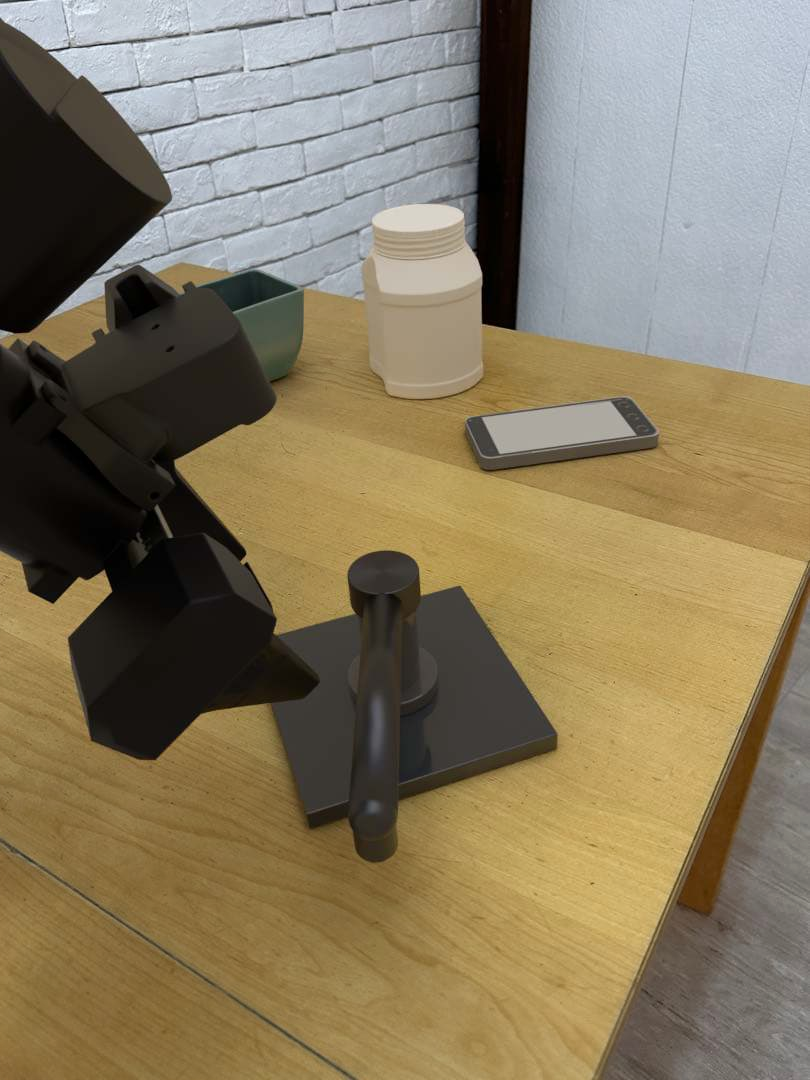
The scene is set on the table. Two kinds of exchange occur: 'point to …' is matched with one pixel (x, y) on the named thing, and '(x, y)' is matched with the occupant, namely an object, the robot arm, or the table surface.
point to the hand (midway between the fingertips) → (272, 618)
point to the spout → (379, 696)
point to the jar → (423, 302)
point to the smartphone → (559, 432)
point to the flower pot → (266, 316)
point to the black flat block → (410, 705)
